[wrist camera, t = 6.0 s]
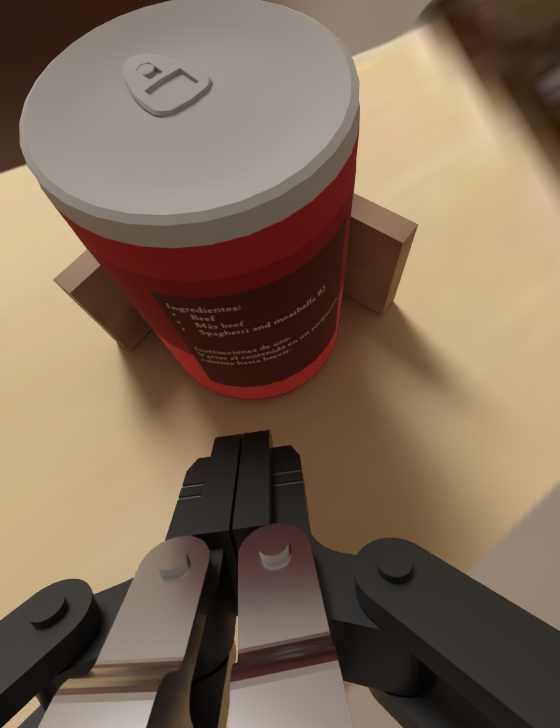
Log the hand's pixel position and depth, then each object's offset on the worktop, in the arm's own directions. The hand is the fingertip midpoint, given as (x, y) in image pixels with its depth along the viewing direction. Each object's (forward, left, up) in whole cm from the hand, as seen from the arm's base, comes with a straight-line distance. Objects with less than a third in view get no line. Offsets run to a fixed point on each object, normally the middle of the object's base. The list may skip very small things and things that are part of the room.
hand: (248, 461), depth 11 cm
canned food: (0, +7, -5) cm, 9 cm away
